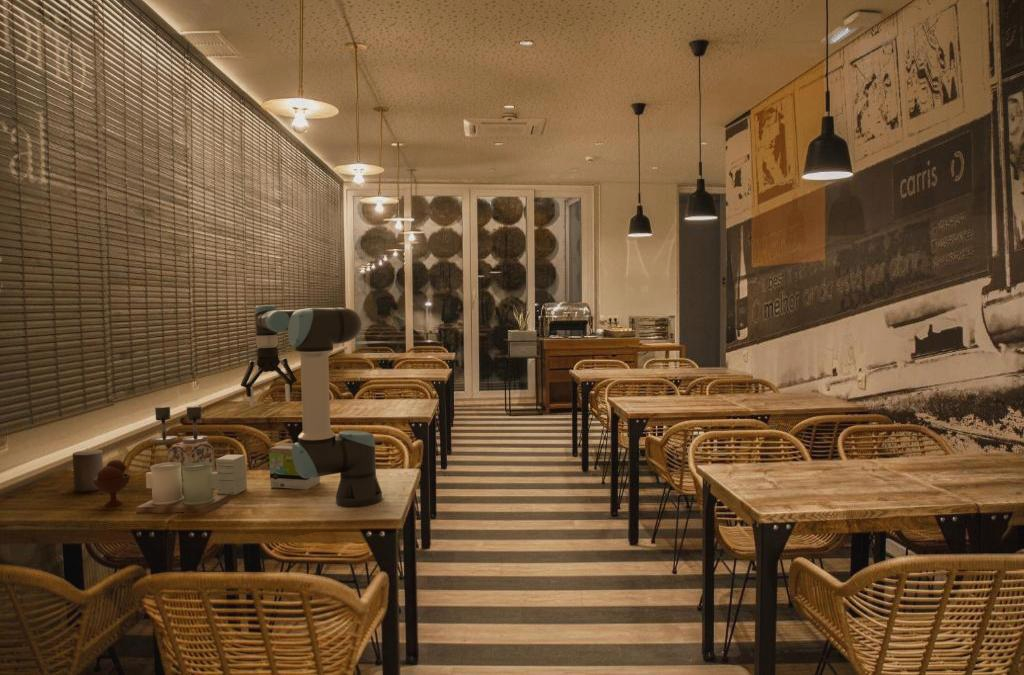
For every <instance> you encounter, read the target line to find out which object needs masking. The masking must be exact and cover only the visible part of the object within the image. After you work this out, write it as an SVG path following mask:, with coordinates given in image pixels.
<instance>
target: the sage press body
mask: <svg viewBox="0 0 1024 675" xmlns="http://www.w3.org/2000/svg"><path fill="white" fill-rule="evenodd" d="M181 468H182V474H183V489H182V493H183V495H184V500H183V504H184V505H201V504H206V503H210V502H212V501H214V500H215V498H214V496H213V495H214V489H218V487H219V479H218V472H217V471H215V472H212V463H210V462H198V463H191V464H186V465H184V466H182V467H181Z"/></svg>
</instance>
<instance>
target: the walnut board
mask: <svg viewBox="0 0 1024 675" xmlns="http://www.w3.org/2000/svg"><path fill="white" fill-rule="evenodd" d="M182 496H183V497H184V494H182ZM213 496H214V498H215V500H214V501H212V502H210V503H206V504H201V505H184V504H183V500H184V499H183V500H182V501H180V502H178V503H174V504H168V505H154V504H152V500H153V499H150V500H149V501H146V502H144V503H141V504H140V505H138V506H136V513H147V514H151V513H152V514H153V513H154V514H155V513H156V514H158V513H161V514H162V513H167V514H171V513H173V514H175V513H176V512H184V513H185V514H208V513H209V512H211V511H213V510H214V509H217V508H218V507H220V506H221V505H223V504H225V503H227V502H228V501H229V494H218V495H215V494H213ZM176 514H177V513H176Z"/></svg>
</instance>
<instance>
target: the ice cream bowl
mask: <svg viewBox="0 0 1024 675" xmlns="http://www.w3.org/2000/svg"><path fill="white" fill-rule="evenodd" d="M126 470H127V466H126V464H125V463H124V461H122V460H119V459H114V460H111V461H109V462H107V463H106V465H105V466H103V469H102V470H100V471H99V472H98V477H96V478H95V479H93V481H94V484H95V486H96V487H97V488H98V489H99V490H100V491H102V492H104V493H107V494H109V497H110V500H108V501H106V502H105V503H104V507H107V508H111V507H118V506H121V505H124V503H123V501H122V500H120V499H118V498H117V493H118V492H121V491H122V490H123V489H124V488H125V487H126V485H128V484H129V481H130V478H131V474H130V473H127V472H125V471H126Z"/></svg>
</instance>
